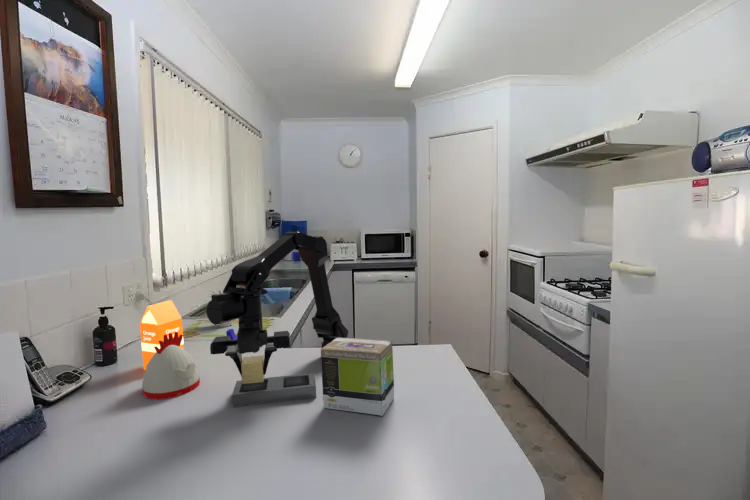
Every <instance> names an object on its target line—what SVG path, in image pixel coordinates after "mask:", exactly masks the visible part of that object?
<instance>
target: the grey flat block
mask: <svg viewBox="0 0 750 500" xmlns="http://www.w3.org/2000/svg"><path fill="white" fill-rule="evenodd" d="M315 377H316V376H315V372H312V373H311V372H310V373H302V374H301V373H300V374H292V375H291V374H290V375H283V376H281V375H280V376H273V377H270V376H269V377H264V382H258V383H249V384H242V379H241V380H237V381H236V382H235V385H234V387H233V391H232V394H231V403H232V408H237V407H245V406H254V405H264V404H271V403H280V402H289V401H296V400H305V399H316V398H317V384H316V378H315Z"/></svg>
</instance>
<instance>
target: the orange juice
mask: <svg viewBox="0 0 750 500" xmlns="http://www.w3.org/2000/svg"><path fill="white" fill-rule="evenodd" d="M182 319H183V318H182V316H181V314H180V312H179V310H178V309H177V307H176V306H175V304H174V302H173V300H172V299H169V300H166V301H162V302H158V303H154V304H151V305H147V306H146V309H145V311H144V313H143V316H142V317H141V320H140V322H139V331H140V342H141V343H140V344H141V353H142V366H143V370H144V371H145V370H146V365H147V364H148V363H149V361H150V359H151V358H152V357H153V355H154V354H155V353H156V350H155V348H154V346H155V347H158V348H159V349H160V344H159V340H160V341H162V342H163V341H164V335H167V337H168V339H169V333H172V336H173V339H174V334H175V332H178V337H179V336H180V334H181V335H183V337H182V341H181V344H180V347H181V348H183V349H184V350H185V346H184V344H185V341H184V331H183V320H182Z"/></svg>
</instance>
